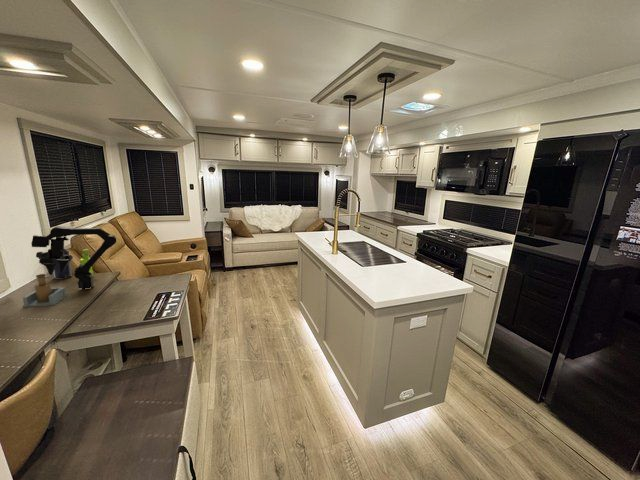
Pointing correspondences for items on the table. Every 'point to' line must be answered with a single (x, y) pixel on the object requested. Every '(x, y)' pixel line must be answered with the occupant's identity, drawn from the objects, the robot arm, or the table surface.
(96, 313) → the table surface
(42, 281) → the amber bottle
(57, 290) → the u rest
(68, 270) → the bottle
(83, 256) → the soap dispenser
